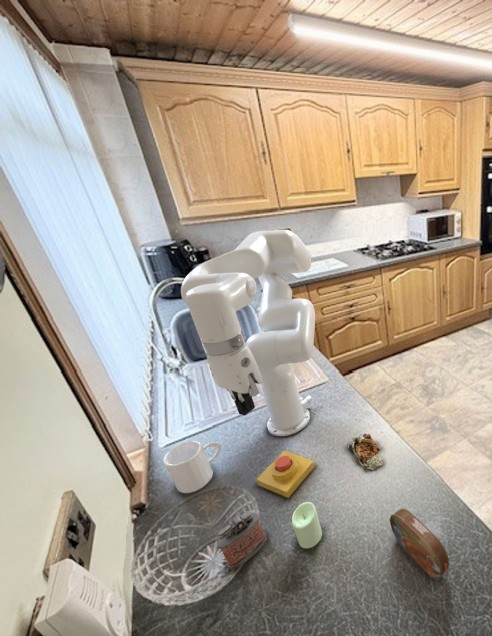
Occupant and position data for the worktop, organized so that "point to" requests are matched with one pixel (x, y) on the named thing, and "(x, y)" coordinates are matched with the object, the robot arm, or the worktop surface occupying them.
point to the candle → (306, 525)
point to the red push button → (283, 463)
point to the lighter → (241, 539)
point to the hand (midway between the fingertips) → (247, 410)
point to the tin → (420, 543)
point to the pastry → (366, 451)
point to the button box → (286, 475)
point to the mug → (190, 465)
